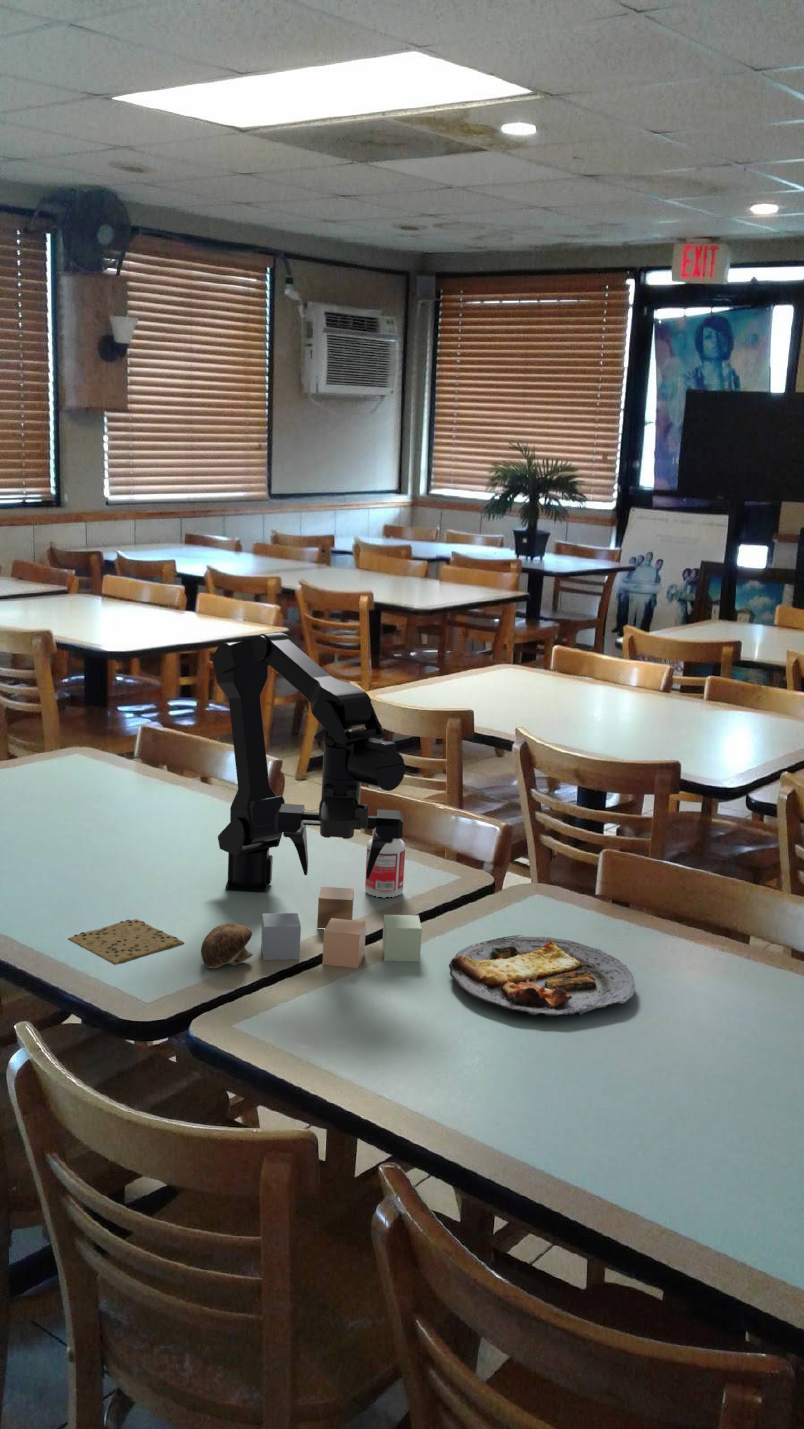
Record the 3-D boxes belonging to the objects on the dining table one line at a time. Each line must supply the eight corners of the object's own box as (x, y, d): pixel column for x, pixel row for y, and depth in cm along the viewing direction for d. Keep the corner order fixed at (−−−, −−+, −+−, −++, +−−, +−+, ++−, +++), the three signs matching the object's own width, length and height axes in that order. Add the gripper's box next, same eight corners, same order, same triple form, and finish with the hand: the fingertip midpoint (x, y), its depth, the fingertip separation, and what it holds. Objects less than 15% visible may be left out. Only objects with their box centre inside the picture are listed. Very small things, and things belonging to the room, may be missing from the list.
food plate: (507, 1038, 156) (509, 1012, 155) (418, 966, 176) (419, 943, 176) (666, 1007, 168) (668, 982, 167) (565, 943, 188) (567, 921, 187)
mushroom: (275, 940, 174) (248, 906, 172) (246, 979, 168) (218, 944, 166) (238, 951, 178) (211, 918, 177) (208, 990, 173) (181, 956, 171)
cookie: (64, 941, 178) (64, 935, 178) (136, 921, 187) (136, 915, 187) (114, 967, 170) (114, 961, 170) (186, 946, 179) (186, 939, 179)
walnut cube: (317, 930, 187) (318, 898, 186) (319, 917, 192) (320, 886, 191) (350, 931, 187) (352, 899, 186) (352, 919, 192) (353, 888, 191)
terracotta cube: (322, 964, 175) (323, 930, 174) (329, 951, 180) (331, 917, 178) (357, 968, 174) (359, 934, 173) (364, 954, 179) (366, 921, 178)
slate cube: (263, 960, 175) (264, 926, 174) (261, 946, 180) (262, 913, 179) (299, 960, 176) (300, 926, 175) (296, 946, 181) (297, 913, 180)
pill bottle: (386, 883, 208) (390, 819, 206) (410, 894, 204) (414, 829, 202) (356, 890, 204) (360, 824, 202) (380, 901, 200) (384, 834, 198)
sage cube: (384, 961, 177) (386, 927, 176) (382, 947, 182) (383, 914, 181) (419, 962, 178) (421, 928, 176) (416, 948, 182) (418, 915, 181)
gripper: (272, 785, 177) (268, 891, 180) (405, 793, 177) (398, 898, 180) (280, 766, 188) (276, 865, 191) (405, 773, 188) (399, 873, 191)
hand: (336, 876), depth 188 cm, fingers open, 9 cm apart
